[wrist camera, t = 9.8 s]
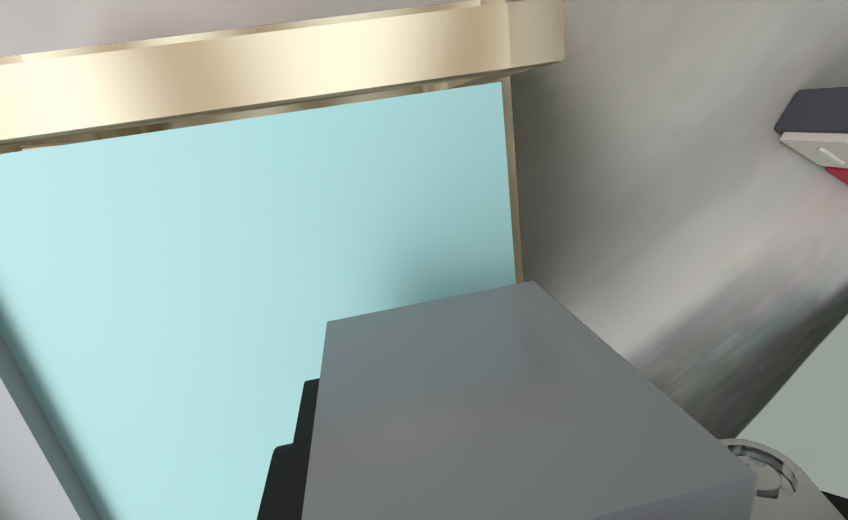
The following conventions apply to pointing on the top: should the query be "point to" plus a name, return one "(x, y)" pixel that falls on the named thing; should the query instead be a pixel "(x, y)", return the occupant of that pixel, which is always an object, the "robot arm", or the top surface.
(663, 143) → the top surface
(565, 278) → the top surface
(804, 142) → the calculator
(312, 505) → the basalt block
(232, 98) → the tan crate frame
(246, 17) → the top surface
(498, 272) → the hatch
